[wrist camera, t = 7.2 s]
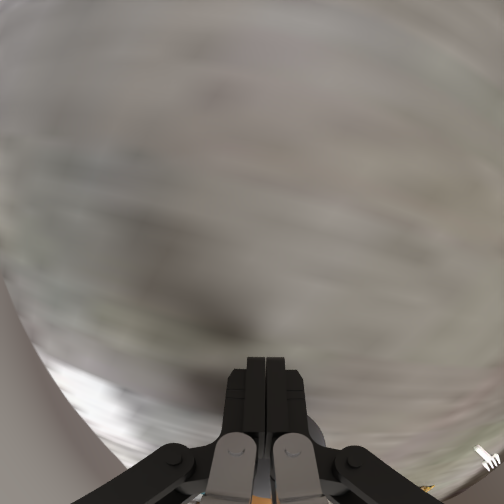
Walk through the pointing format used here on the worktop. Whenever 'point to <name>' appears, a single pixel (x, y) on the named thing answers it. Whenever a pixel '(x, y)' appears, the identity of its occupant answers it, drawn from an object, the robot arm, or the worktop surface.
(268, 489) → the dark grey ball
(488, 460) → the fork
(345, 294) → the worktop surface
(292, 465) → the robot arm
